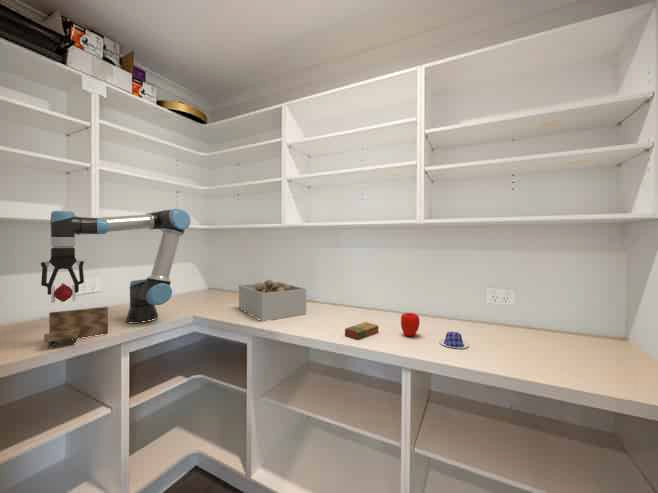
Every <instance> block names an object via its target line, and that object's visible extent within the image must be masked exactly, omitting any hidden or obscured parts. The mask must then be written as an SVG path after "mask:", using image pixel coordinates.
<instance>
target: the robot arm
mask: <svg viewBox="0 0 658 493" xmlns="http://www.w3.org/2000/svg"><path fill="white" fill-rule="evenodd" d="M191 221H192V220H191V216H190V214H189V213H188V212H187V211H186V210H184V209H181V208H173V209H165V210H164V209H163V210H160V211H155V212H146V213H145V214H138V215H122V216H121V215H120V216H106V217H105V216H103V217H86V216H83V217H82V216H76V214H75V212H74V211H67V210H53V211H52V212H51V213H50V222H49V223H50V247H52V248H50V258H49V260H47V261H42V262H40V266H41V268H42V269H41V282H40V283H41V284H40V285H41V287H46V288H47V295H48V296H49V295H50V302H51V303H55V302H56V297H55V296H54V292H55V290H56V286H55V285H54V282H55V280H56V277H57V275H58V272H59V270H67V271H68V272H69V275H70V278H71V280H72V282H73V285H72V287H71V289H72V296H71V298H72V299H71V300H72V302H74V301H76V293H79V291H80V289H79V288H80V286H79V285H81V284H83V283H85V279H84V278H85V276H84V267H83V266H84V264H85V261H84V260H79V259H77V258H76V248H75V246H76V235H77V236H80V235H105V234H107V233H110V232H118V231H119V232H120V231H131V230H132V231H133V230H140V229H142V230H143V229H149V230H150V231H151V230H160V231H161V232H162V235H161V239H160V241H159V246H158V250H157V253H156V256H155V258H154V259H155V260H154V263H153V268H152V271H151V273H150V274H151V275H149V276H148V277H146V279H136V280H135V279H134V280H131V281H130V284H129V309H128V312H127V314H126V317H125V318H126V319H125V322H126V323H127V322H142V321H148V320H152V319H155V318H157V317H158V318H159V314H158V311H157V308H156V306H161V305H164V304H166V303H167V302H168V301H170V299H171V297H172V295H173V289H172V288H171V282H172V281H171V280H170V275H171V270H172V266H173V262H174V261H175V260H174V259H175V256H176V251H177V249H178V244H179V241H180V237H182V236H183V235H184V233H185V230H187V229H189V227H190V225H191ZM50 264H51V266H53V267H54V268H53V270H52V273H51V276H50V278H49V281H48V279H47V278H48V267H49V266H50ZM75 264H76V265H77V266H78V275H79V277H78V278H79V280H78V278H77V276H76V273H75V271H74V268H73V266H74V265H75ZM47 282H48V283H47Z"/></svg>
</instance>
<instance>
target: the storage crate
mask: <svg viewBox="0 0 658 493" xmlns="http://www.w3.org/2000/svg"><path fill="white" fill-rule="evenodd" d="M275 282H276V283H277V284H278V286H279V287H282V288H283V287H284V285H286V284H287V285H290V287H291V290H288V291H278V292H277V289H276V292H269V293H265V290H266V289H265V288H266V286H265V284H264V286H265V288H264V290H262V292H263V293H262V292H259V291H257V290H256V289H255V285H256V284H257V283H250V284H249V283H247V284H239V285H238V309H239V308H240V309H242V310H243V311H245V312H247V313H249V314H251V315H253V316H254V317H256V318H258V319H260V320H261V321H265V322H268V321H267V320H271V321H275V320H274V319H277V320H282V319H281V318H283V319H288V318H287V317H289V318H293V317H294V316H295V317H299V316H300V315H301V316H305V315H307V288H305V287H300V286H296V285H292V284H288V283H285V282H280V281H275ZM271 290H272V288H271ZM240 309H239V310H240ZM243 311H242V312H243ZM245 312H244V313H245ZM247 313H246V314H247ZM249 314H248V315H249ZM254 317H253V318H254ZM256 318H255V319H256ZM258 319H257V320H258ZM261 321H260V322H261Z"/></svg>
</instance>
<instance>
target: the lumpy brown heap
mask: <svg viewBox="0 0 658 493" xmlns="http://www.w3.org/2000/svg"><path fill="white" fill-rule="evenodd" d="M276 282H277V281H273V280H272V279H267V280H264V281H263V282H256V283H255V284H256V285H255V289H256V290H257V291H259V292H262V290H264V288H265V286H266V288H265V289H266V290H265V293H269V292H276V289H277V292H278V291H288V290H291V287H290V285H291V284H289V285H287V284H288V283H285V284H286V285H284V287H283V288H282V287H279V286H278V284H277V283H276ZM264 284H265V286H264ZM271 288H272V290H271ZM262 293H263V292H262Z"/></svg>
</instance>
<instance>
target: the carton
mask: <svg viewBox="0 0 658 493" xmlns="http://www.w3.org/2000/svg"><path fill="white" fill-rule="evenodd" d="M376 334H379V325H378V324H374V323H370V322H367V321H365V322H362V323H361V322H360V323H359V324H355V325H352V326H350V327H346V328H344V337H346V338H348V339H352V340H356V341H361V340H362V339H365V338H368V337H370V336H373V335H376Z"/></svg>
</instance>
